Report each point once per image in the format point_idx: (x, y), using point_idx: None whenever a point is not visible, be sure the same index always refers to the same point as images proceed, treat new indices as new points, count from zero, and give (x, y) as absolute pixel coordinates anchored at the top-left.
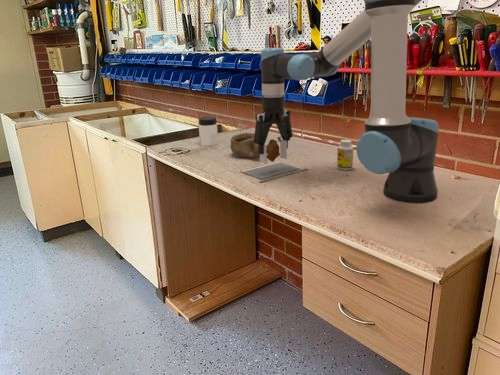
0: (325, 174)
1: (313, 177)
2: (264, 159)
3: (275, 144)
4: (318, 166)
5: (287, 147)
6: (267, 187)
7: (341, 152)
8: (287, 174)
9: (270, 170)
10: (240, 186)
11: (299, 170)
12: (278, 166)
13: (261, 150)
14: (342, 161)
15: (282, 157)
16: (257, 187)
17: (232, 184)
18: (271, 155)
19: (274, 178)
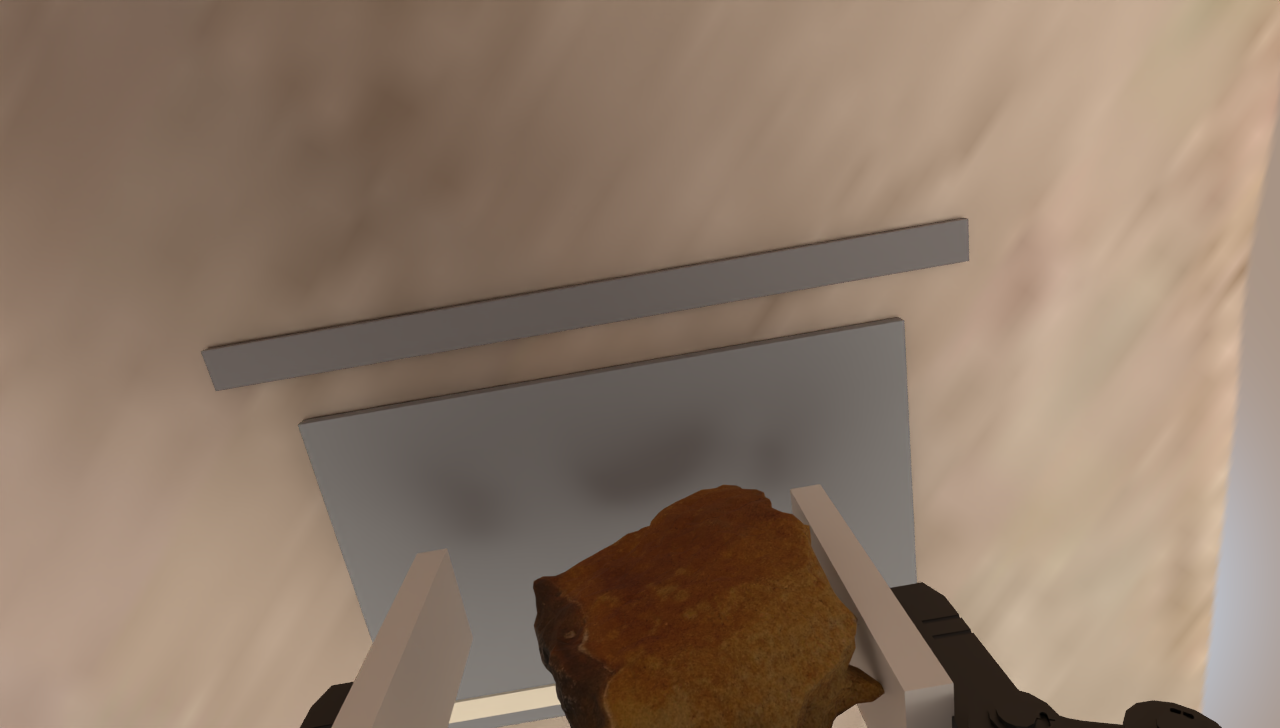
0: (80, 58)
1: (299, 40)
2: (842, 527)
3: (659, 694)
4: (20, 402)
5: (322, 702)
6: (1007, 29)
7: None
8: (553, 300)
9: (647, 521)
10: (1205, 240)
11: (338, 360)
12: (491, 600)
13: (961, 632)
14: None
15: (459, 604)
16: (1093, 100)
17: (1221, 346)
18: (753, 526)
19: (767, 254)
